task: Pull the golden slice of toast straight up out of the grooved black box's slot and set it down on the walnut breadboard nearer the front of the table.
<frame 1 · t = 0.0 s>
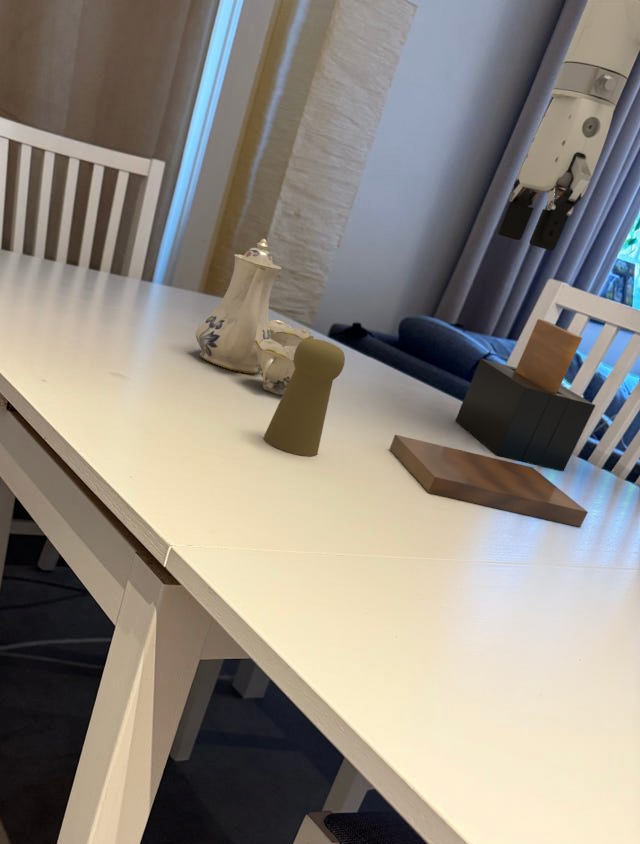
hand: (524, 242, 117), 24 cm above the table, tool pointing down, fingers open, 9 cm apart
cork: (290, 446, 99), on the table
breadboard: (480, 486, 104), on the table
grooved black box: (507, 444, 127), on the table
chinaware: (249, 370, 127), on the table
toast: (513, 431, 126), point 2 cm above the table, touching grooved black box
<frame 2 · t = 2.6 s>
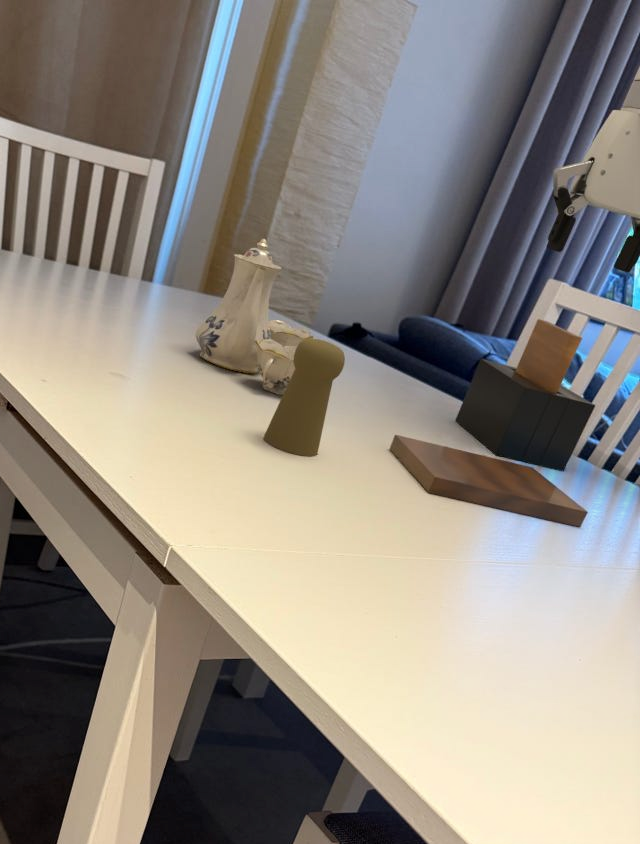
hand: (587, 260, 116), 24 cm above the table, tool pointing down, fingers open, 9 cm apart
nothing on the table moved.
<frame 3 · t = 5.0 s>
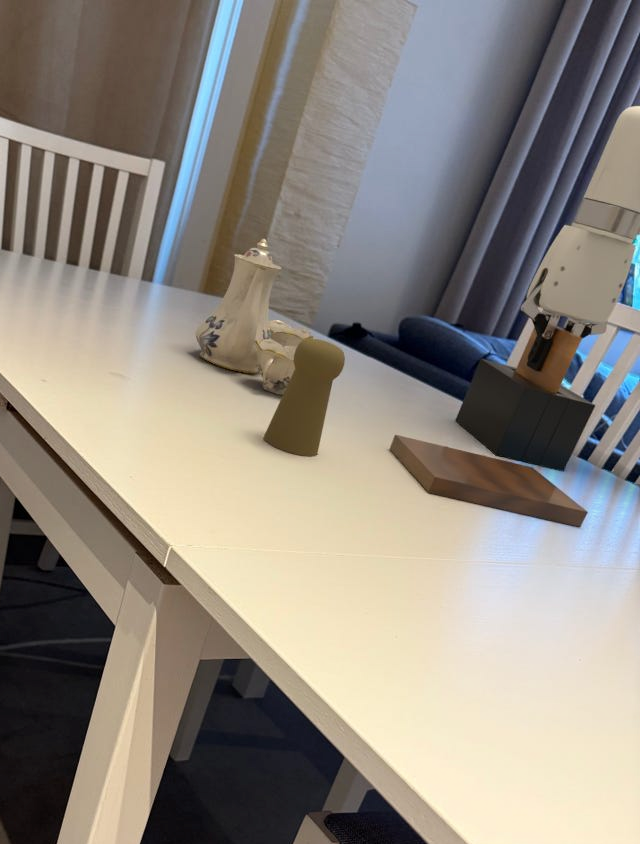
hand: (540, 369, 122), 11 cm above the table, tool pointing down, fingers closed on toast, 1 cm apart
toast: (513, 431, 126), point 2 cm above the table, touching gripper, grooved black box
everything else where it was.
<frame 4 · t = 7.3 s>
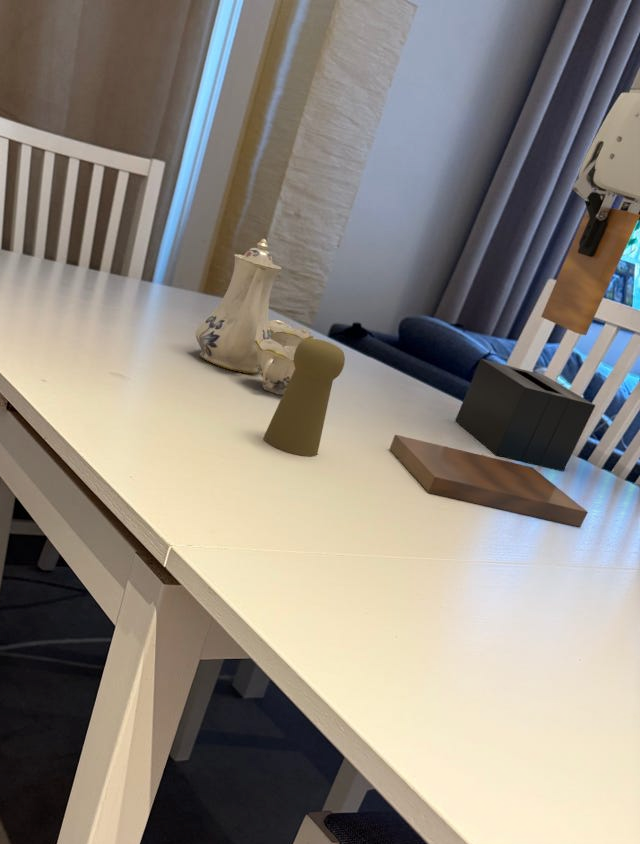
hand: (593, 256, 115), 25 cm above the table, tool pointing down, fingers closed on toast, 1 cm apart
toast: (562, 325, 119), point 16 cm above the table, touching gripper
everything else where it was.
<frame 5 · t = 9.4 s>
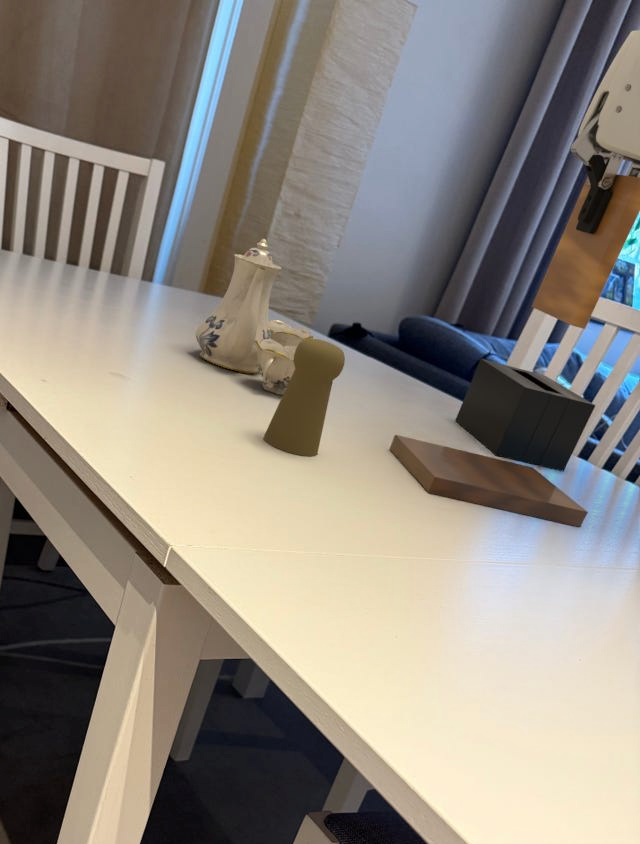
hand: (594, 233, 95), 27 cm above the table, tool pointing down, fingers closed on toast, 1 cm apart
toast: (557, 317, 99), point 19 cm above the table, touching gripper
everything else where it was.
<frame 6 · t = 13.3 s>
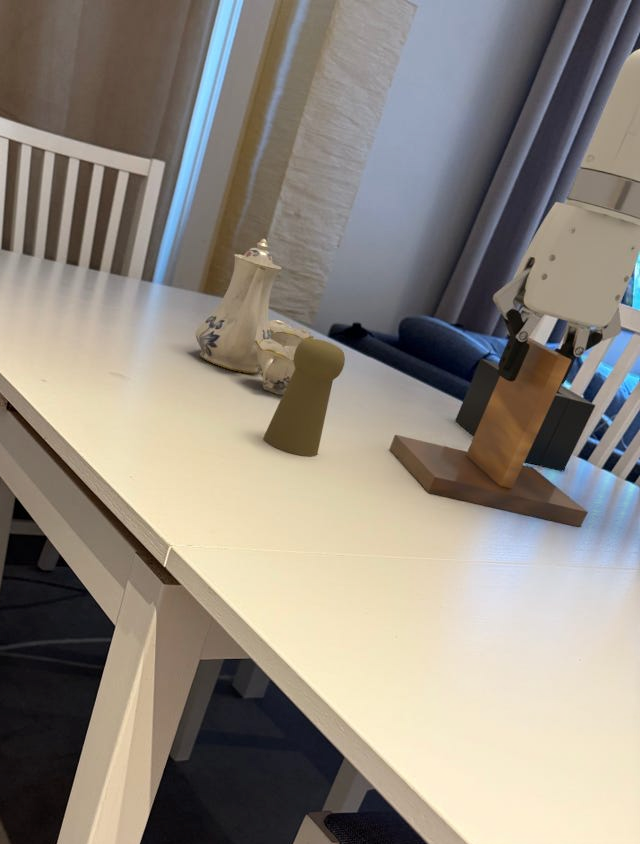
hand: (527, 381, 98), 12 cm above the table, tool pointing down, fingers open, 4 cm apart
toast: (487, 471, 103), point 2 cm above the table, touching breadboard
everything else where it was.
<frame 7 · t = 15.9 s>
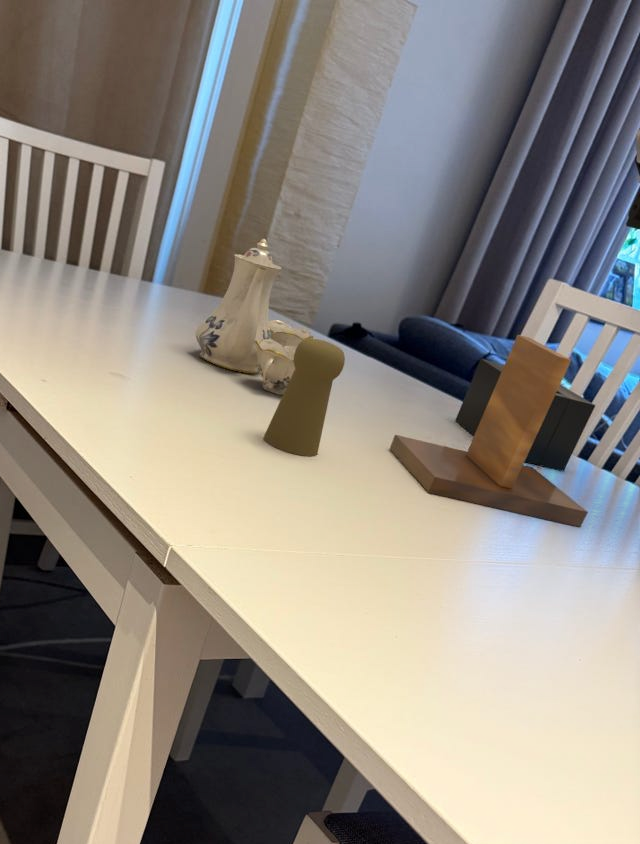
nothing on the table moved.
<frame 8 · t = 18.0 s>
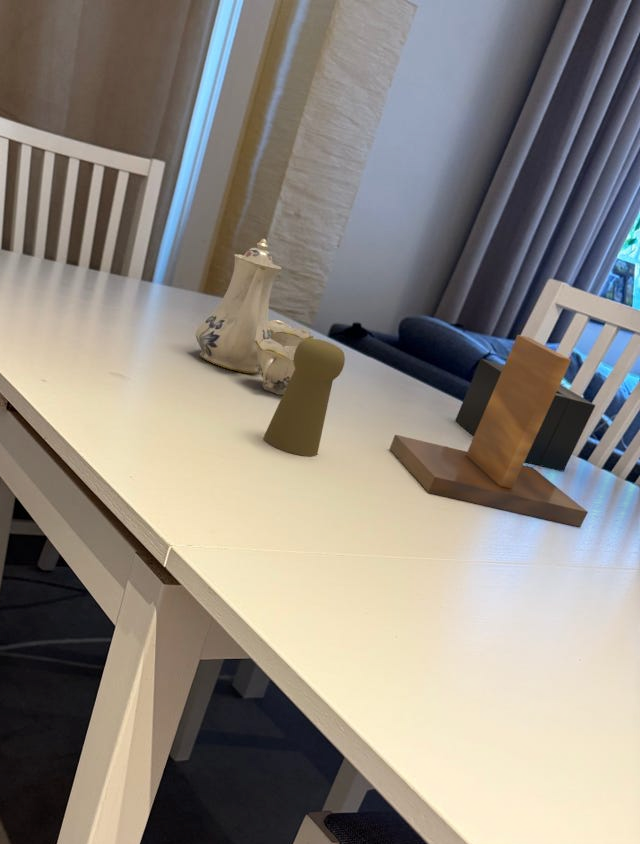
nothing on the table moved.
at the end: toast inside the target area on the breadboard (0.1 cm from its centre), point 1.8 cm above the breadboard's base; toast touching breadboard; the gripper is holding nothing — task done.
